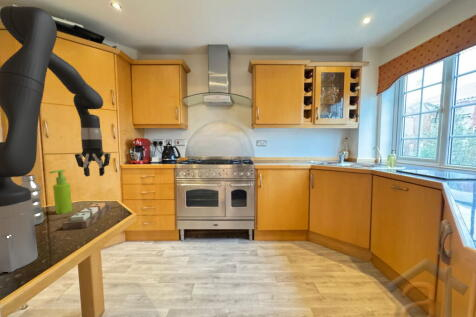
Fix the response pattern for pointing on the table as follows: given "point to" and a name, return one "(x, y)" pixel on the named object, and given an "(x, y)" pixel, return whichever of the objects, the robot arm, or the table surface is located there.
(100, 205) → the one dot button
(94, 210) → the three dot button
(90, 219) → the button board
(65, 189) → the soap dispenser
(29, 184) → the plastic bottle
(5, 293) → the table surface
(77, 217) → the two dot button
